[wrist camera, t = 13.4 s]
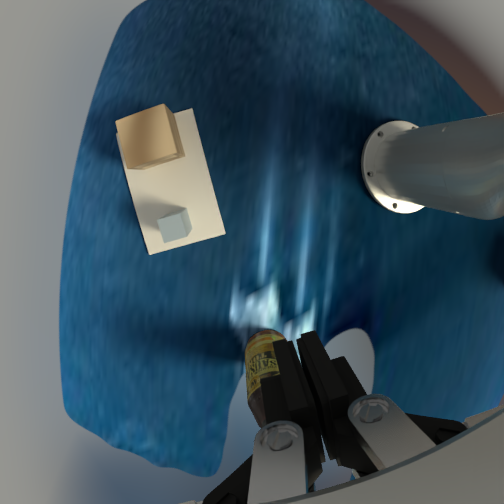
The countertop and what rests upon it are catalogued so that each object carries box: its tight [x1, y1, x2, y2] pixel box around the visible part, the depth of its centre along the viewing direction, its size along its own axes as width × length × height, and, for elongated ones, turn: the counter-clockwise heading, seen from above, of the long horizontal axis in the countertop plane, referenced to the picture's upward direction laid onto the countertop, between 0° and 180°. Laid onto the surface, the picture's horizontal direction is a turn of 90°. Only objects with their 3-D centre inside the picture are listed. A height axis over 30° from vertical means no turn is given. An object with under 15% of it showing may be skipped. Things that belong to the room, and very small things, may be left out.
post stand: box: [116, 108, 226, 255], centre depth 35 cm, size 10×16×6 cm, turn 14°
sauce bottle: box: [245, 330, 287, 428], centre depth 34 cm, size 6×6×20 cm
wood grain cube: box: [115, 104, 185, 170], centre depth 33 cm, size 5×5×7 cm
